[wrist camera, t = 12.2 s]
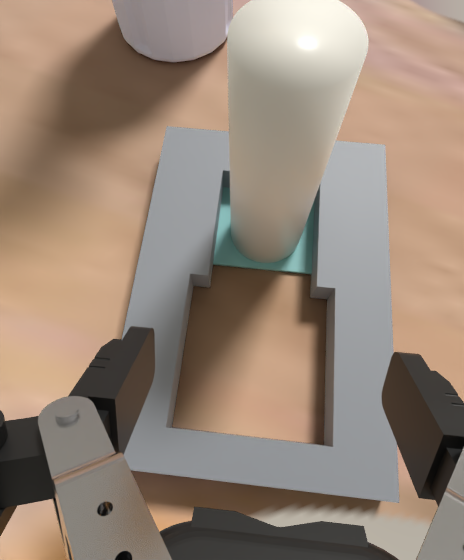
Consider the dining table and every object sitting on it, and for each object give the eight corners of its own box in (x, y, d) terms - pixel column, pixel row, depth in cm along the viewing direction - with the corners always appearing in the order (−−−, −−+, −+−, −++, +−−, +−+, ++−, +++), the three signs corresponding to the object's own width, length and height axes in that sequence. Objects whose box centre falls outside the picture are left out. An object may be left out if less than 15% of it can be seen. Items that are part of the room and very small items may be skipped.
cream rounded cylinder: (262, 277, 23) (293, 115, 11) (216, 227, 24) (198, 30, 12) (315, 234, 24) (398, 43, 12) (268, 188, 25) (300, -29, 13)
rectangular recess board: (382, 495, 19) (399, 502, 17) (107, 462, 20) (94, 465, 18) (374, 164, 26) (385, 144, 24) (171, 147, 27) (166, 126, 25)
